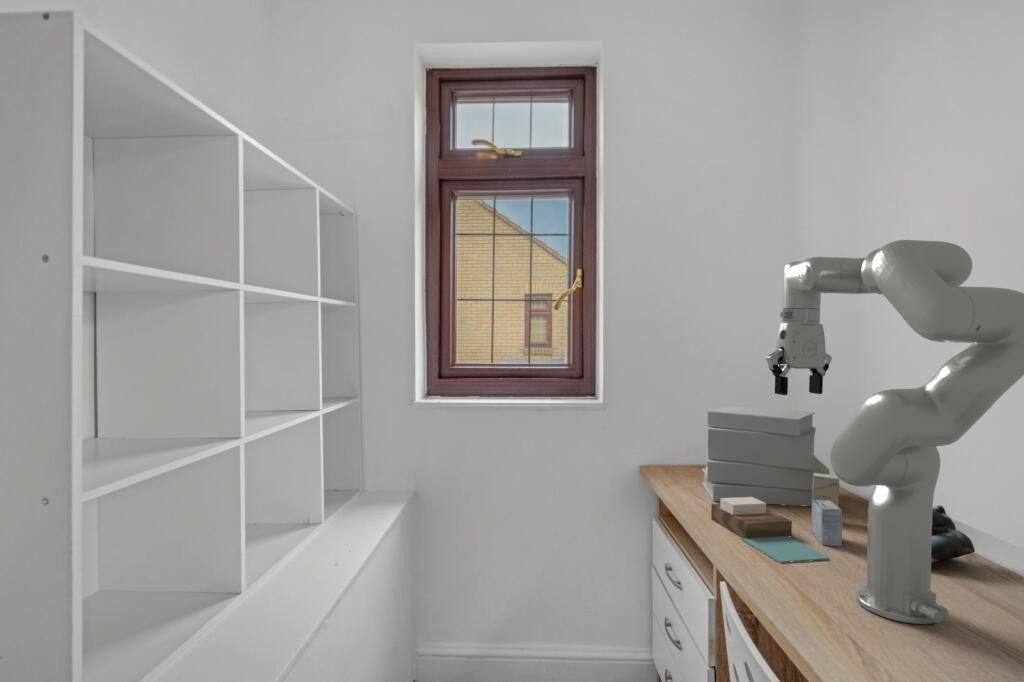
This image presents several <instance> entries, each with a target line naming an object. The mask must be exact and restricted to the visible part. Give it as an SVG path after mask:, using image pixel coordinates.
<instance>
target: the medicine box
mask: <svg viewBox="0 0 1024 682" xmlns="http://www.w3.org/2000/svg"><path fill="white" fill-rule="evenodd" d="M842 512H843V510H842V509H841V508H840V507H839V506H838V507H837V506H836V505H835V504H834V503H832V502H831V501H826V500H812V507H811V519H812V520H811V534H813V535H814V536H815V537H816V538H817V539H818V540H819V541H820V542H819V541H818V540H817V539H816V538H815V537H814V536H813V535H812V536H813V537H814V538H815V539H816V540H817V541H818V542H819V543H820V544H821V545H822V546H826V545H833V546H832V547H840V546H841V547H842V546H843V513H842Z"/></svg>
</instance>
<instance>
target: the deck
mask: <svg viewBox="0 0 1024 682" xmlns="http://www.w3.org/2000/svg"><path fill="white" fill-rule="evenodd" d="M710 508H711V521H713V522H715V523H717V524H719V525H720V526H721V527H724V528H725V529H727V530H729V531H730V532H732V533H734V534H736V536H738V537H740V538H742V539H746V538H764V537H782V536H793V535H792V531H793V528H792V527H793V526H792V525H793V520H791V519H788V518H786V517H785V516H783V515H780V514H779V513H777V512H774V511H772V510H770V509H768V508H766V513H763V514H742V515H732V514H731V513H729V512H727V511H725V510H723V509H721V508H720V503H711V507H710Z"/></svg>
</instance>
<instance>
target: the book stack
mask: <svg viewBox="0 0 1024 682" xmlns="http://www.w3.org/2000/svg"><path fill="white" fill-rule="evenodd" d="M815 414H816V413H815V412H814V411H805V410H803V411H801V410H792V409H791V410H790V409H777V408H766V407H764V408H763V407H751V406H742V405H741V406H740V405H727V406H722V407H717V408H713V409H709V410H708V411H707V427H708V430H707V447H706V449H705V451H706V460H707V465H706V466H705V468H702V469H701V471H702V472H703V481H701V484H702V485H704V486H703V487H704V489H705V490H706V492H707V494H708V495H709V497H710V498H711V501H712V500H713V501H712V502H714V501H715V503H720V498H737V497H754V498H756V499H758V500H760V501H762V502H764V503H766V505H768V504H785V505H784V506H787V505H805V506H806V505H807V506H812V489H813V473H820V474H829V475H830V469H829V468H828V467H827V466H826V465H825V464H824V463H822V461H820V459H818V458H817V456H816V455H815V454H814V453H815V435H816V429H817V427H816V426H813V416H814V415H815ZM716 501H717V502H716ZM805 506H804V507H805Z"/></svg>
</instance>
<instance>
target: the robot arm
mask: <svg viewBox="0 0 1024 682" xmlns="http://www.w3.org/2000/svg"><path fill="white" fill-rule="evenodd" d="M972 271H973V260H972V258H971V255H970V254H969V252H968V251H967V250H966V249H965V248H963V247H961V246H960V245H958V244H955V243H951V242H948V241H939V240H920V239H919V240H915V239H898V240H893V241H891V242H888V243H887V244H885V245H883V246H882V247H879V248H877V249H874V250H872V251H871V252H870V253H868V254H867V255H866V256H865V257H839V256H838V257H835V256H831V257H830V256H828V257H827V256H813V257H809V258H805V259H804V260H800V261H799V260H798V261H791V262H788V263H787V264H785V266H784V268H783V286H782V287H783V289H782V311H781V312H780V313H779V316H780V318H781V323H780V324H779V328H778V333H777V334H778V335H777V339H776V340H777V341H776V350H775V351H773V352H771V353H770V354H769V355H767V356H766V362H767V364H768V368H769V370H770V371H771V372H772V373H771V374H772V376H774V394H775V395H780V396H787V395H788V393H789V389H788V388H789V377H788V376H787V375H788V373H789V371H790V370H791V369H801V370H802V369H807V370H809V372H810V373H811V374H810V375H809V379H808V381H809V382H808V392H809V393H810V394H816V395H822V394H823V385H824V384H823V382H824V377H825V376H826V372H827V371H828V370H829V368H830V365H831V361H832V359H833V356H831V354H829V353H827V352H826V350H827V349H826V337H825V336H826V335H825V330H824V326H823V324H822V323H820V322H821V298H822V297H821V294H842V295H845V294H846V295H860V294H861V295H863V294H864V295H865V294H867V295H868V294H877V295H883V297H885V298H886V300H887V301H888V302H889V303H890V304H891V306H892V307H893V308H894V309H895V310H896V312H897V313H898V314H899V315H900V316H901V317H902V319H903V320H904V321H905V322H906V323H907V325H908V326H910V327H909V328H911V329H912V330H913V331H914V332H916V334H918V335H919V336H921V337H922V338H924V339H927V340H929V341H931V342H937V343H967V344H968V343H969V344H970V343H971V345H969V346H968V347H967V348H965V349H964V350H961V352H958V353H957V354H955V355H953V356H952V357H951V358H949V359H948V360H947V361H946V362H944V363H943V365H941V366H940V368H939V369H938V371H937V372H936V373H935V374H934V375H933V376H932V378H930V380H928V382H926V383H925V384H923V385H922V386H919V387H915V388H913V387H912V388H892V389H885V390H881V391H879V392H876V393H874V394H873V395H870V396H869V397H868V398H867V399H866V400H865V401H864V402H863V403H862V404H861V405H860V406H859V408H858V409H857V410H856V412H855V413H854V414H853V416H852V417H851V418H850V419H849V421H848V422H847V423H846V425H845V426H844V427H843V428H842V430H841V431H840V433H839V434H838V435H837V437H836V438H835V440H834V442H833V444H832V446H831V450H830V458H829V459H830V464H831V465H830V466H831V469H832V471H833V473H834V475H837V477H838V478H839V480H841V481H842V482H844V483H846V485H847V484H848V485H851V486H854V487H864V488H865V487H874V488H873V490H872V492H871V494H870V497H869V500H868V505H867V506H868V507H867V508H868V509H867V541H866V542H867V549H866V550H867V553H866V555H867V556H866V560H867V561H866V587H862V588H860V589H858V590H857V591H856V601H857V602H858V604H860V605H861V606H862V607H863V608H864V609H865V610H867V611H869V612H871V613H873V614H875V615H878V616H880V617H883V618H886V619H889V620H892V621H896V622H901V623H906V624H916V625H929V624H935V623H937V624H939V623H941V622H942V621H943V619H944V618H945V617H947V616H948V614H949V610H948V608H947V607H944V606H942V605H940V604H937V592H934V591H932V587H931V586H932V563H931V543H932V510H933V507H934V506H933V505H934V496H935V491H936V486H937V482H938V478H939V474H940V470H941V456H940V452H939V449H938V447H944V446H948V445H952V444H954V443H956V442H957V441H959V440H960V439H961V438H962V437H964V435H965V434H967V432H968V431H969V430H970V429H971V428H972V427H973V426H974V425H975V424H976V423H977V422H978V421H979V420H980V419H981V418H982V417H983V416H984V415H985V414H986V413H987V412H988V411H989V410H990V409H991V408H992V406H993V405H994V404H995V403H996V402H997V401H998V400H999V399H1000V398H1001V397H1002V396H1003V395H1004V394H1005V393H1006V392H1007V391H1008V390H1010V389H1011V388H1012V387H1013V385H1015V384H1017V382H1018V381H1019V380H1021V379H1022V378H1023V377H1024V292H1021V291H1018V290H1015V289H1010V288H1003V287H993V286H991V287H990V286H961V285H963V284H964V283H965V282H966V281H968V278H969V277H971V276H970V275H971V274H972Z"/></svg>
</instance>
